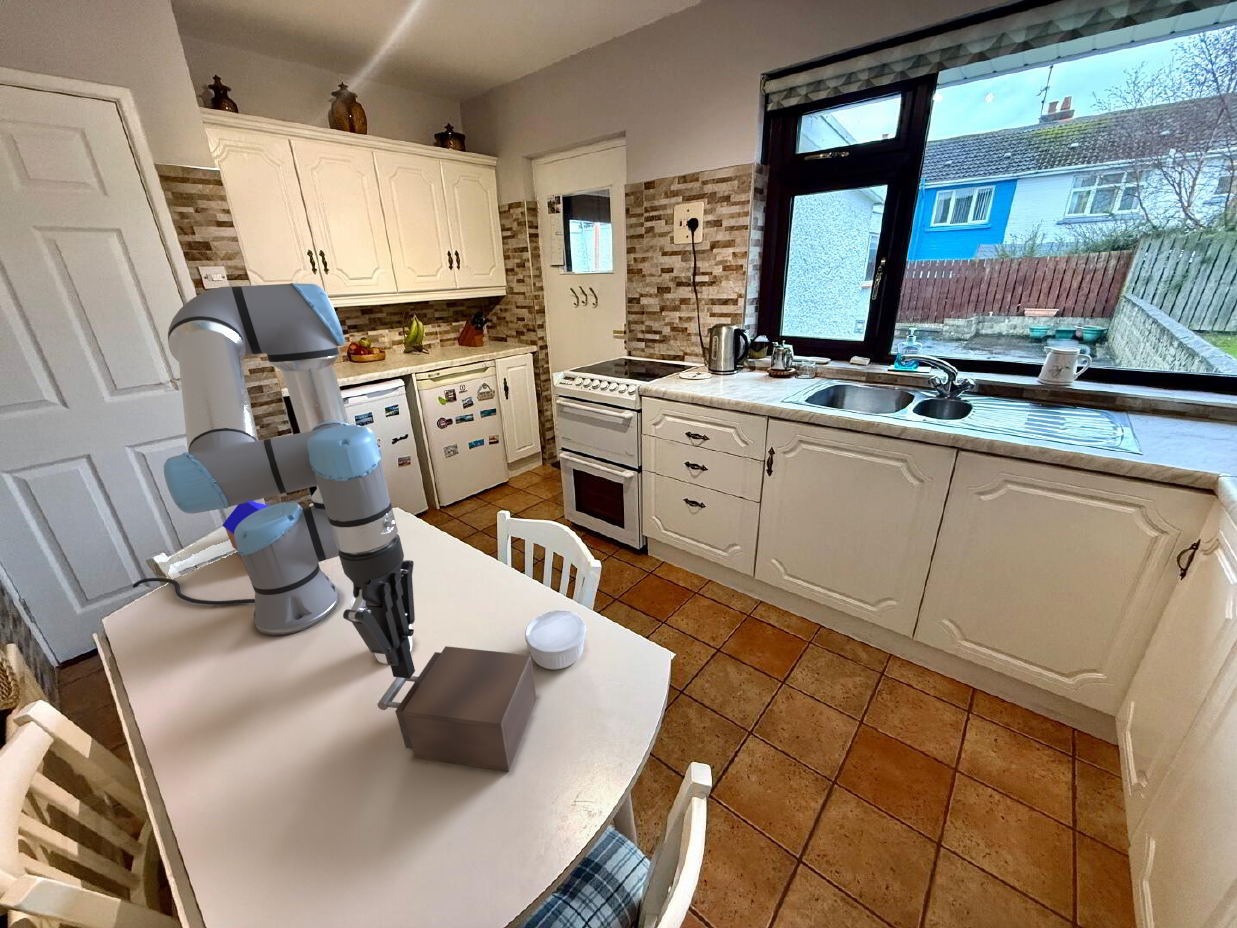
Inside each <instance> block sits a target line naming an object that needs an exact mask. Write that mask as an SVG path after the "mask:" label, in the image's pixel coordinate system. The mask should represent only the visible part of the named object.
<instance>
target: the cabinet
mask: <svg viewBox="0 0 1237 928" xmlns="http://www.w3.org/2000/svg"><path fill="white" fill-rule="evenodd" d="M440 653H441V654H440V655H439V657H438V658H437V660H436V661H435V663H434V665H433V666H432V668H431V669H430V671H429V672H428V674H427V675H426V677H425V678H424V680H423V681H422V683H421V684H420V686H419V687H418V689H417V690H416V692H415V693H414V695H413V696H412V698H411V700H410V701H409V703H408V704H407V706H406V707H405V709H404V710H403V715H404V719H405V723H406V726H407V730H408V733H409V737H410V741H411V744H412V748H413V749H412V752H413V754H414V758H415V759H418V760H426V761H432V762H433V761H434V762H440V763H446V764H454V765H459V766H467V767H473V768H474V767H476V768H482V769H488V770H496V771H502V772H510V769H511V767H512V765H513V762H514V759H515V756H516V754H517V751H518V749H519V746H520V743H521V740H522V738H523V735H524V732H525V730H526V727H527V725H528V722H529V719H530V716H531V714H532V712H533V709H534V706H535V704H536V700H537V695H536V694H537V693H536V686H535V685H536V684H535V678H534V671H533V663H532V655H531V654H525V653H524V654H523V653H515V652H507V651H495V650H487V649H477V648H468V647H467V648H466V647H458V646H447V645H445V646H444V648H443V649H442V651H441V652H440Z"/></svg>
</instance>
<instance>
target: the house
mask: <svg viewBox="0 0 1237 928" xmlns="http://www.w3.org/2000/svg"><path fill="white" fill-rule="evenodd" d="M268 506H270V505H269V504H265V503H261V502H256V501H251V502H247V503H243V504H239V505H236V507H235V508H234V509H233V510H232V512H231V513H230V514H229V515H228V517H227V518H226V519H225V520H224V522H223V524H222V525H221V527H223V528H224V529H225V531H226V535H227V536H228V539H229V541H230V544H231V547H232V548H233V549H234V550H236V551H237V545H236V541H235V538H234V531H235V529H236V527H237V526H238V524H239V523H240V522H241V521H242V520H244V519H245V518H247V517H248V516H249V515H251V514H253V513H254V512H256V511H258V510H260V509H263V508H265V507H268Z"/></svg>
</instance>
